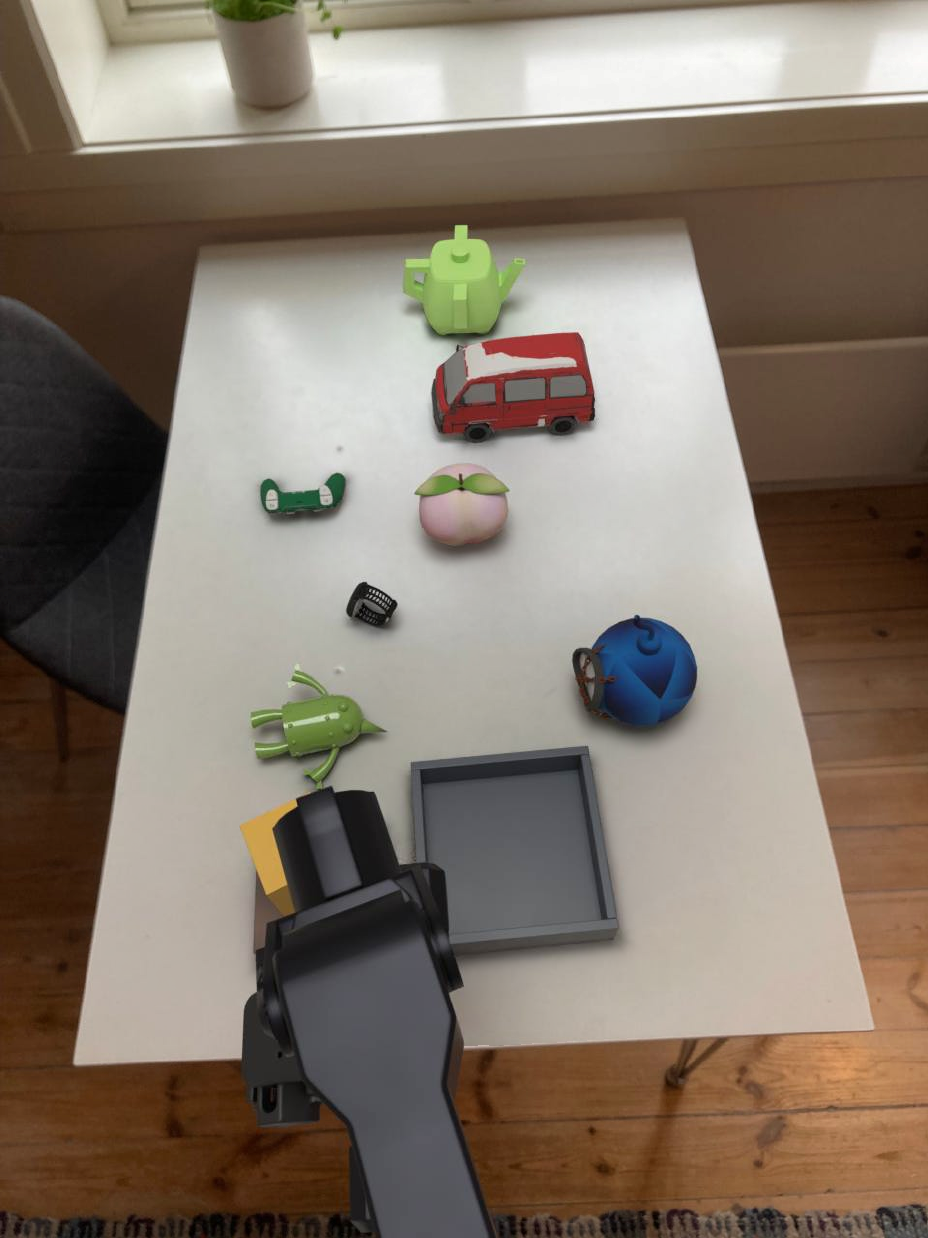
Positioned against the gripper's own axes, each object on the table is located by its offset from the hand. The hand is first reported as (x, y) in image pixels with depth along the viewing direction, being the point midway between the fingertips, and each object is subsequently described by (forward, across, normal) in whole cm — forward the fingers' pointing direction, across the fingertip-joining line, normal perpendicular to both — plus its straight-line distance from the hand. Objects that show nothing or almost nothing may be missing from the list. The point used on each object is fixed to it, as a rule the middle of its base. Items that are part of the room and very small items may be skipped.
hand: (414, 1049), depth 59 cm
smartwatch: (+13, -41, -3) cm, 43 cm away
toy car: (+13, -67, +14) cm, 70 cm away
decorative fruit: (+13, -51, +7) cm, 53 cm away
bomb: (+13, -30, +21) cm, 39 cm away
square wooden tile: (+13, -14, -8) cm, 21 cm away
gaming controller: (+13, -57, -10) cm, 59 cm away
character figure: (+13, -29, -8) cm, 33 cm away
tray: (+13, -16, +8) cm, 22 cm away
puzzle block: (+9, -14, -8) cm, 18 cm away
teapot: (+13, -85, +10) cm, 87 cm away
